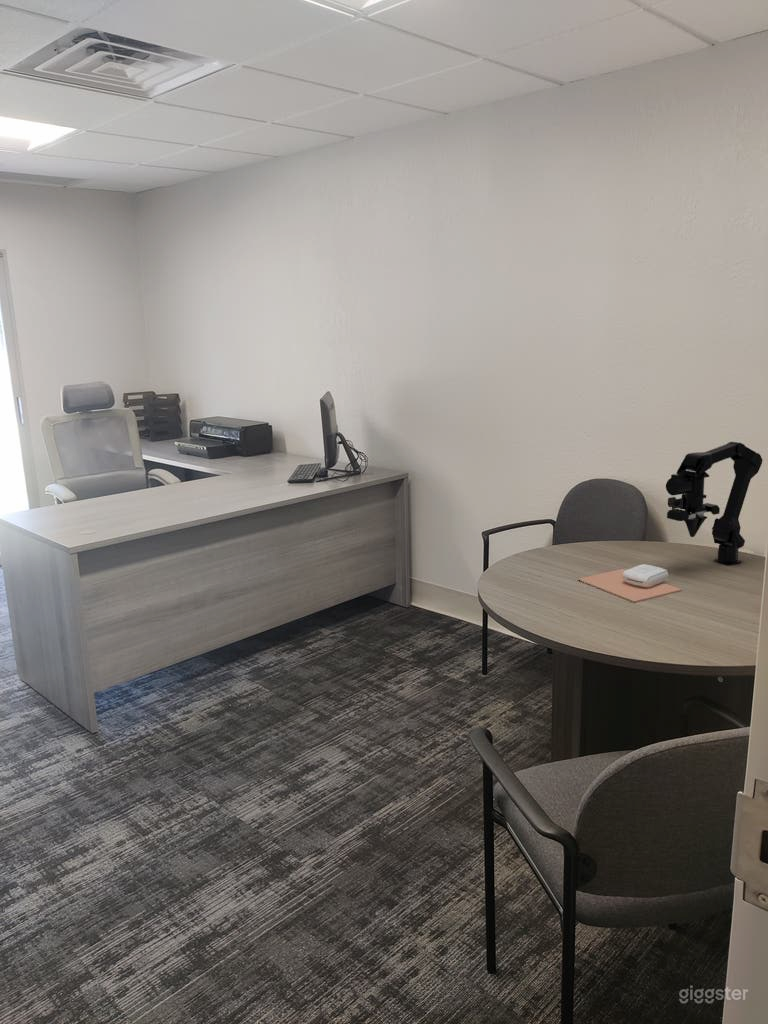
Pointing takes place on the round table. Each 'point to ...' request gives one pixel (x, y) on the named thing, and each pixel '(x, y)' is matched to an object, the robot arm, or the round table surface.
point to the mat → (627, 587)
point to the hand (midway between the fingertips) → (692, 536)
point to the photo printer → (645, 575)
